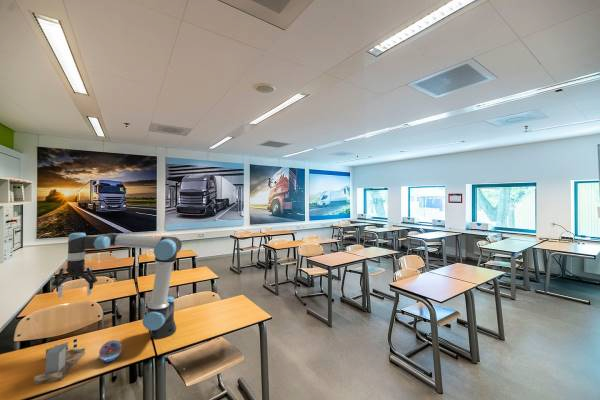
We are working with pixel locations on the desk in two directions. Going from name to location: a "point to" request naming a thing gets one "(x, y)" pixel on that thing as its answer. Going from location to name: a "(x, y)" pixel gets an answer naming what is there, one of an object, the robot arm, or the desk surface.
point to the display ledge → (71, 360)
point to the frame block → (56, 359)
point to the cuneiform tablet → (66, 346)
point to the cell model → (110, 350)
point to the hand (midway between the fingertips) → (74, 296)
